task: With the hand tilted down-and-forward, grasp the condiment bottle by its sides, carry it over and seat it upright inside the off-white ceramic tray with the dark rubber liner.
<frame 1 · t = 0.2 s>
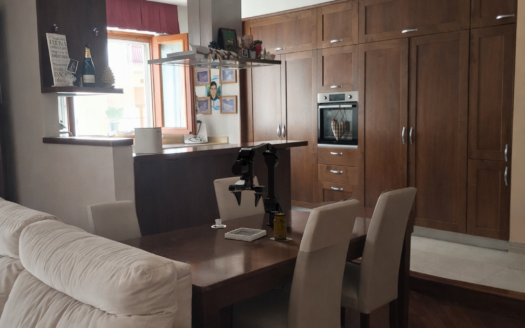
hand: (247, 206, 247), 14 cm above the table, tool pointing down, fingers open, 9 cm apart
tray: (245, 236, 246), on the table
condiment: (281, 239, 240), on the table
teacup and saucer: (214, 228, 268), on the table
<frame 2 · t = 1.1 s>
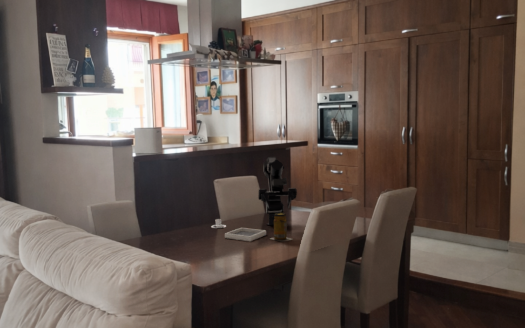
hand: (278, 207, 247), 13 cm above the table, tool tilted 45°, fingers open, 9 cm apart
nothing on the table moved.
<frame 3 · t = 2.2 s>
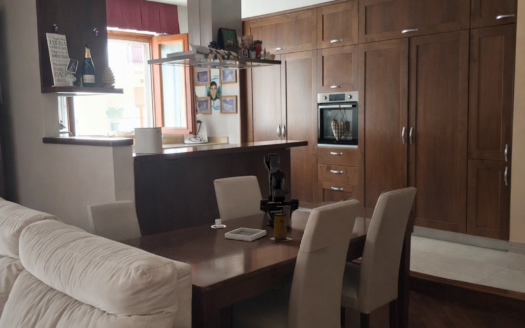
hand: (280, 219, 241), 9 cm above the table, tool tilted 45°, fingers open, 9 cm apart
nothing on the table moved.
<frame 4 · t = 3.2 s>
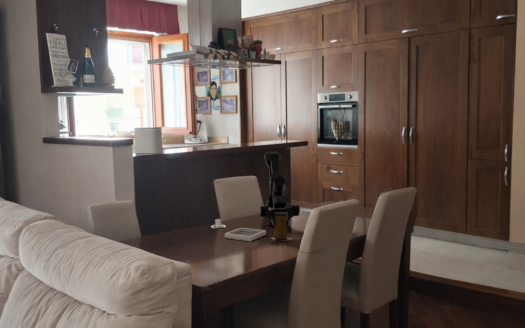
hand: (281, 225, 238), 7 cm above the table, tool tilted 45°, fingers closed on condiment, 6 cm apart
condiment: (281, 239, 240), on the table, touching gripper
everything else where it was.
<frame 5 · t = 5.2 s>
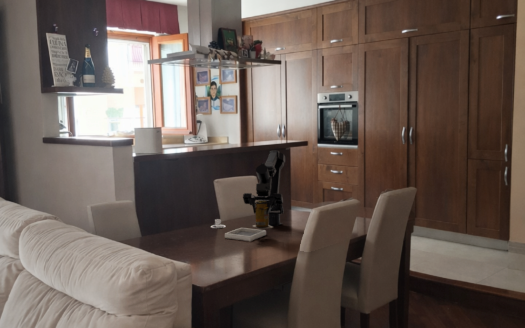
hand: (260, 213, 240), 12 cm above the table, tool tilted 45°, fingers closed on condiment, 6 cm apart
condiment: (262, 227, 242), point 5 cm above the table, touching gripper
everything else where it was.
when the fingers open (8 cm above the table, at t = 6.9 s): condiment stays where it is, resting on tray.
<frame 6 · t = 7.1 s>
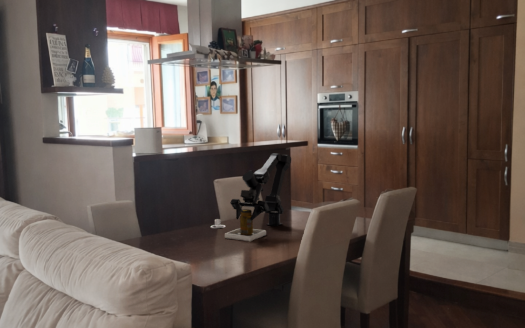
hand: (243, 219, 244), 9 cm above the table, tool tilted 45°, fingers open, 7 cm apart
condiment: (246, 235, 246), point 1 cm above the table, touching tray
everything else where it was.
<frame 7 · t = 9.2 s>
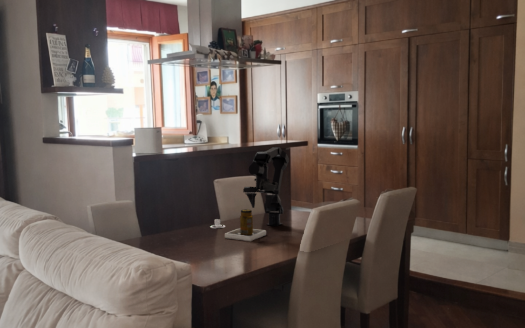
hand: (260, 208, 253), 12 cm above the table, tool pointing down, fingers open, 9 cm apart
nothing on the table moved.
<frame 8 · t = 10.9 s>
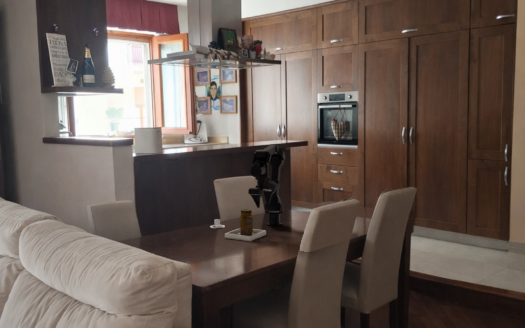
hand: (263, 206, 254), 13 cm above the table, tool pointing down, fingers open, 9 cm apart
nothing on the table moved.
at the end: condiment inside the target area on the tray (0.4 cm from its centre), point 0.5 cm above the tray's base; condiment tilted 0°; the gripper is holding nothing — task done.
